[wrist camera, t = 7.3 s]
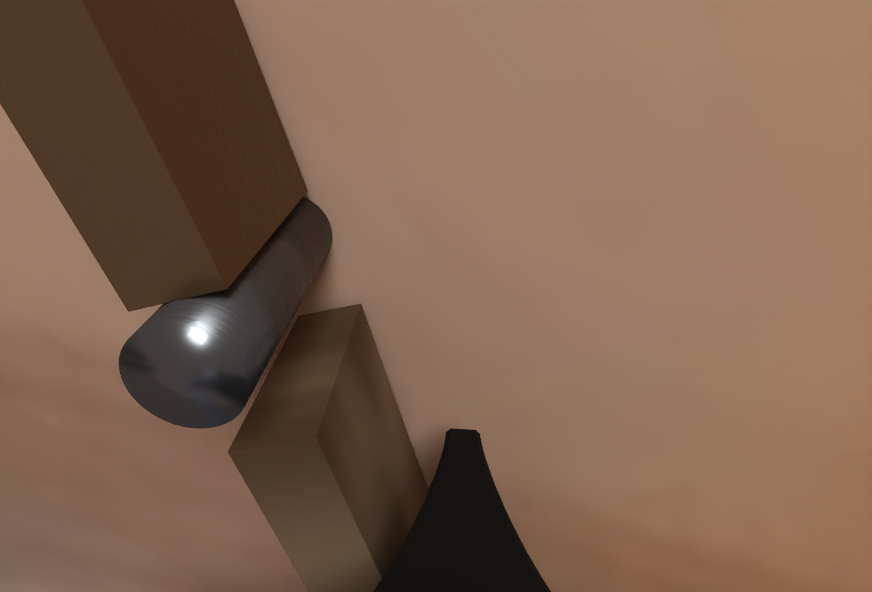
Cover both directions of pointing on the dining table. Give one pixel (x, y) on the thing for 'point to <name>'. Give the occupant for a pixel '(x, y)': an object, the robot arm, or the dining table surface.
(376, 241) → the dining table surface
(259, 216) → the hammer
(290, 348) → the handle
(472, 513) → the robot arm
